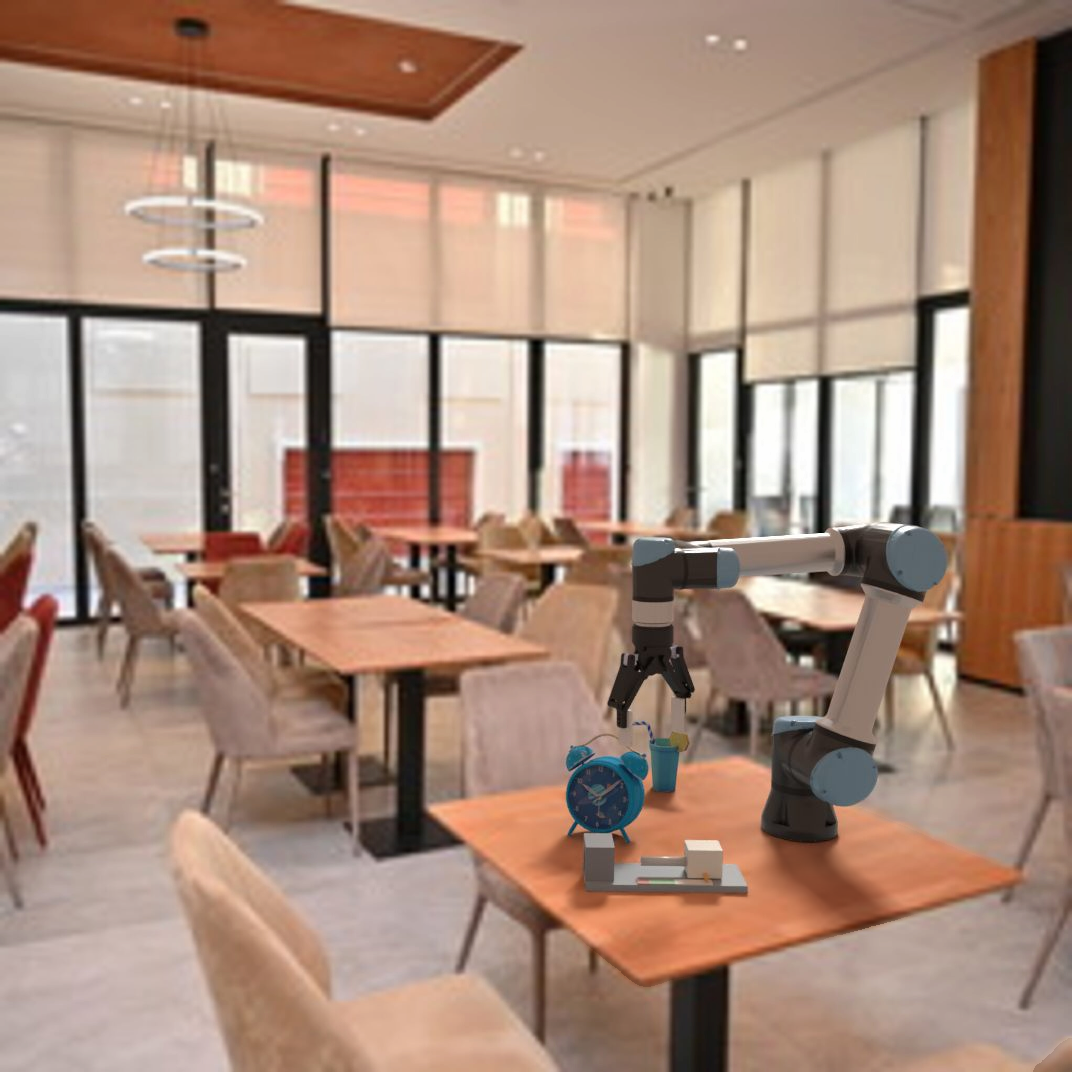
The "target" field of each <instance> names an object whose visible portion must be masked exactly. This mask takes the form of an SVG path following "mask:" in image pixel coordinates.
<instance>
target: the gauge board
mask: <svg viewBox="0 0 1072 1072" xmlns="http://www.w3.org/2000/svg"><path fill="white" fill-rule="evenodd" d="M612 833H613V832H611V833H594V832H584V833H583V853H582V854H583V857H582V858H583V860H582V874H583V880H584V881H583V882H584V888H585V892H610V893H611V892H613V893H614V892H616V893H617V892H622V893H623V892H624V893H625V892H628V893H631V892H633V893H707V894H708V893H712V894H713V893H717V894H718V893H719V894H720V893H721V894H722V893H723V894H726V893H727V894H729V893H730V894H748V893H749V890H748V889H749V886H748V884H747V881H746V879H745V878H744V876H743V874H742V872H741V870H740V867H739V866H738V864H737V863H723V867H722V879H716V878H709V882H705V880H704V878H688V877H687V874H686V872H685V869H684V866H641V862H640V863H639V862H615V858H616V857H615V856H616V855H615V854H616V852H615V851H616V850H615V849H616V848H615V844H614V839H613V834H612Z"/></svg>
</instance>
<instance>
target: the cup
mask: <svg viewBox="0 0 1072 1072" xmlns="http://www.w3.org/2000/svg"><path fill="white" fill-rule="evenodd" d="M632 726H646V728H647V731H648V734H649V738H650V739H649V740H648V747H649V750H650V764H651V765H650V766H651V780H652V791H656V792H659V793H671V792H674V791H676V786H677V779H678V778H677V776H678V768H679V760H680V753H681V752H682V753H683V752H686V751H687V750H688V747H689V745H690V739H689V737H688V734H687V733H686V732H685V731H684V734H680V733H676V732H672V731H671V734H670V735H669V738H668V737H667V738H665V737H663V738H662V737H661V738H659V737H657V738H655V737H654V733H653V730H652V727H651V725H650V723H649V722H648V721H646V720H642V721H632Z"/></svg>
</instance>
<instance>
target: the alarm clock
mask: <svg viewBox="0 0 1072 1072" xmlns="http://www.w3.org/2000/svg"><path fill="white" fill-rule="evenodd" d="M605 736H607V737H612V738H615V739H616V740H618V741H619V735H615V734H613V733H609V732H607V733H601V734H598V735H596V736H594V737H593V738H592V739H590V740H588V741H587V742H585V743H582V744H578V745H575V746H574V745H570V746H569V748H570V750H568V754H567V756H566V759H565V766H566V769H567V771H568V772H572V771H573V770H574V771H573V773H572V774H571V776H570V778H569V779H568V782H567V786H566V791H565V802H566V807H567V809H568V811H569V814H570V816H571V817H572V819H573V820H574V822H573V823H572V825H571V826H570V828H569V829H568V831H567V836H571V835H573V833H574V831H575V830H576V828H577V826H578V825H579V826H580V827H582V828H583V829H585V830H586V831H589V832H590V833H613V832H617V831H620V833H621V835H622V837H623V839H624V841H625V842H626V844H627V845H629V844H631V841H630V838H629V836H628V833H627V832H626V830H625V828H626V827H628V826H630V825H631V824H632V823H633V822H634V821H635V820H636V819H638V817H639V815H640V813H642V810H643V807H644V804H645V803H644V802H645V786H644V780H646V778H647V776H648V774H649V769H650V768H649V763H648V760H647V754H646V753H642V752H639V751H638V750H636V749H633V748H632V747H627V746H625V747H626V748H627V749H628V750H629V751H627V752H624V753H622V754H621V755H620V757H617V756H613V755H604V756H599V757H598V756H597V757H595V758H593V759H592V757H594V756H595V755H596V752H595V751H594V750H593V749H592V748H590V747H588V745H589V744H590V743H592V742H593V741H595V740H597V739H598V738H601V737H605ZM590 759H591V760H590ZM588 760H589V761H588Z"/></svg>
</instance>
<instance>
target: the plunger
mask: <svg viewBox="0 0 1072 1072" xmlns="http://www.w3.org/2000/svg"><path fill="white" fill-rule="evenodd" d="M683 843H684V844H683V846H684V847H683V849H684V850H683V856H647V855H645V856H644V855H643V856H640V861H639V862H640V863H641V866H684V869H685V872H686V874H687V877H688V878H704V880H705V882H709V878H716V879H722V867H723V864H724V863H723V862H724V861H723V860H724V850H723V848H722V846H721V844H720V841H719V840H715V839H713V840H712V839H711V840H710V839H709V840H705V839H684V842H683Z"/></svg>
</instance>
